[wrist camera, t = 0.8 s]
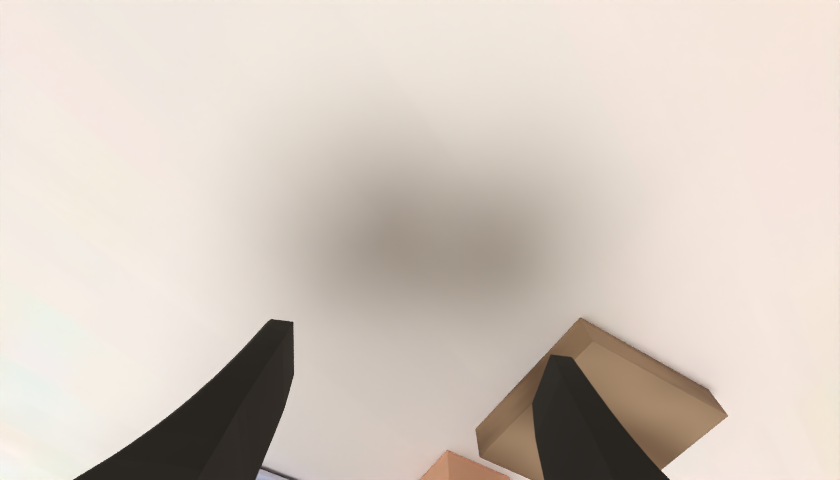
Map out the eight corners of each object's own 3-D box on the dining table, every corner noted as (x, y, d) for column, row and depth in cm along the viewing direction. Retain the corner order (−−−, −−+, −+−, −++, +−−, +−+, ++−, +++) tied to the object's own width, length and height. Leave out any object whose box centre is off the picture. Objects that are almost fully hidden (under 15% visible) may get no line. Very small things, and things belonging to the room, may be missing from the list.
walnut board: (594, 478, 33) (607, 513, 30) (474, 423, 30) (479, 457, 28) (703, 383, 29) (728, 415, 27) (577, 312, 26) (592, 341, 24)
